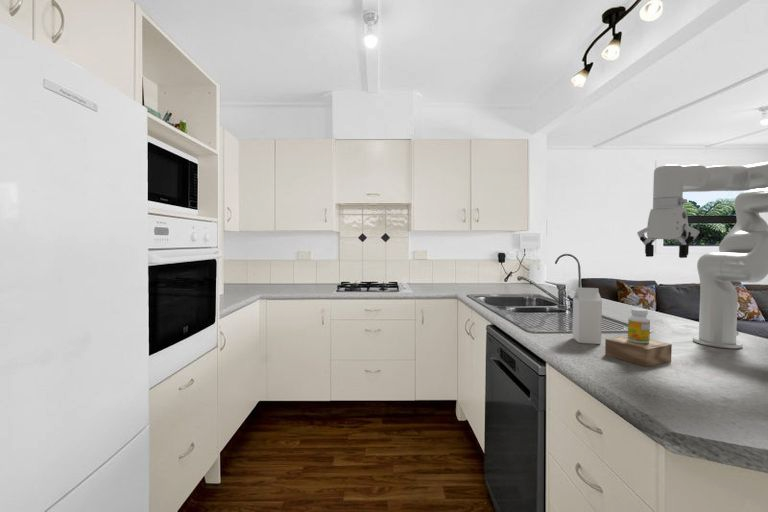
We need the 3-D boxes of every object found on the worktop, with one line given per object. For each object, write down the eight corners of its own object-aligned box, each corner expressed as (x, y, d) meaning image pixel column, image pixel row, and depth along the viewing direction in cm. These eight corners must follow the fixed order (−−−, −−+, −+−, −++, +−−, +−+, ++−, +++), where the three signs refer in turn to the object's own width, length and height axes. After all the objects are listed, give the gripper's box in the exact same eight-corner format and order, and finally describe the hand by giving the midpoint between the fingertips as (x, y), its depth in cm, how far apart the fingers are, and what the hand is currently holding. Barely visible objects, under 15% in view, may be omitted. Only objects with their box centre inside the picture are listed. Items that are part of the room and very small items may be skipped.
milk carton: (601, 344, 124) (602, 289, 123) (578, 343, 126) (579, 289, 125) (593, 339, 131) (594, 287, 130) (572, 338, 133) (573, 286, 132)
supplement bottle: (623, 339, 112) (624, 307, 112) (639, 338, 112) (640, 307, 112) (636, 343, 107) (637, 311, 106) (654, 343, 107) (655, 311, 107)
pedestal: (629, 350, 118) (629, 334, 118) (671, 361, 107) (671, 344, 107) (605, 354, 113) (605, 338, 113) (646, 366, 102) (647, 349, 102)
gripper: (706, 202, 111) (704, 258, 111) (645, 207, 126) (644, 256, 127) (692, 201, 107) (690, 258, 108) (632, 206, 123) (630, 256, 124)
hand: (665, 257), depth 118 cm, fingers open, 9 cm apart
